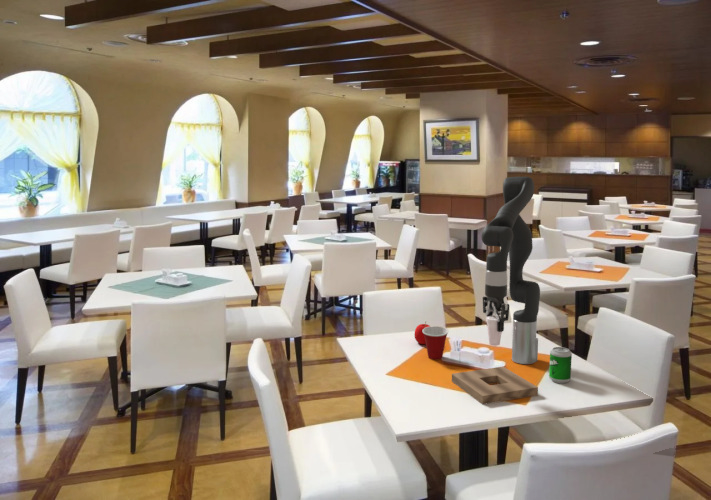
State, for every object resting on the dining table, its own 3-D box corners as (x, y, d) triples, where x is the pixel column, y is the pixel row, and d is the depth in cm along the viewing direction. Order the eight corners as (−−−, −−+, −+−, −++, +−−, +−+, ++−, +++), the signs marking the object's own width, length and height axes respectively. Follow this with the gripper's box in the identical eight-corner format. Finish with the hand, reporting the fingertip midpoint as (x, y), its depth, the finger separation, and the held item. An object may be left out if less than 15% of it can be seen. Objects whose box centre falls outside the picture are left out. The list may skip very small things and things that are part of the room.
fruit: (437, 345, 264) (437, 323, 262) (418, 347, 262) (418, 325, 260) (430, 339, 272) (430, 318, 271) (411, 341, 270) (411, 319, 269)
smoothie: (504, 347, 209) (505, 308, 206) (485, 346, 210) (486, 307, 208) (503, 341, 215) (504, 303, 213) (485, 340, 216) (486, 303, 214)
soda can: (570, 378, 224) (571, 347, 222) (570, 385, 217) (572, 353, 215) (549, 375, 226) (550, 345, 224) (548, 382, 219) (550, 351, 217)
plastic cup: (418, 360, 245) (419, 332, 243) (425, 352, 255) (426, 325, 253) (444, 363, 241) (445, 334, 239) (450, 355, 251) (451, 327, 249)
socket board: (503, 373, 229) (503, 366, 228) (537, 395, 208) (538, 387, 208) (451, 381, 222) (451, 373, 221) (482, 404, 201) (482, 395, 201)
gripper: (517, 286, 203) (515, 333, 206) (494, 278, 217) (493, 322, 219) (498, 287, 201) (496, 335, 204) (476, 279, 214) (475, 324, 217)
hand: (494, 328), depth 212 cm, fingers closed on smoothie, 6 cm apart
